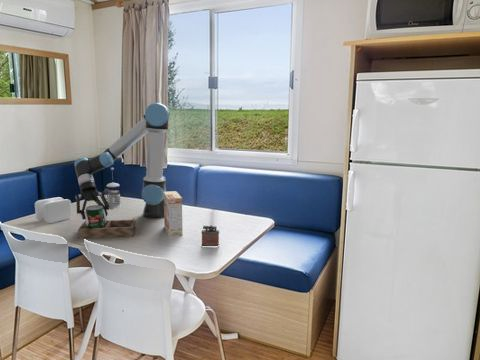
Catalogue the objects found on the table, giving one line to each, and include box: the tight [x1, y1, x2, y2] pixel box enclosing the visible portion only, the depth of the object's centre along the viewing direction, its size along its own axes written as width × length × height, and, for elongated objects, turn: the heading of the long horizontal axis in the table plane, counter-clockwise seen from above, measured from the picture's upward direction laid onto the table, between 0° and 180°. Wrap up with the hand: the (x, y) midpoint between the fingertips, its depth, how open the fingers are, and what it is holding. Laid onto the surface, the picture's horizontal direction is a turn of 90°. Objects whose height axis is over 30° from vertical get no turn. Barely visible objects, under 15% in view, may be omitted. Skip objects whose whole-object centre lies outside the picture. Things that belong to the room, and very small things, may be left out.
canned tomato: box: [85, 204, 104, 229], centre depth 177 cm, size 8×8×11 cm
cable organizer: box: [34, 196, 73, 224], centre depth 197 cm, size 15×11×12 cm
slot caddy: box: [77, 219, 137, 239], centre depth 179 cm, size 25×13×4 cm, turn 100°
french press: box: [103, 167, 123, 209], centre depth 224 cm, size 10×12×25 cm
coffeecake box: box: [163, 190, 183, 237], centre depth 182 cm, size 15×7×20 cm, turn 21°
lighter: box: [201, 224, 220, 247], centre depth 164 cm, size 8×3×10 cm, turn 92°
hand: (96, 223), depth 174 cm, fingers closed on canned tomato, 8 cm apart
